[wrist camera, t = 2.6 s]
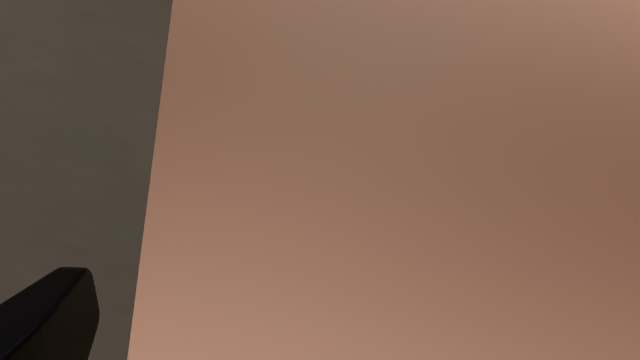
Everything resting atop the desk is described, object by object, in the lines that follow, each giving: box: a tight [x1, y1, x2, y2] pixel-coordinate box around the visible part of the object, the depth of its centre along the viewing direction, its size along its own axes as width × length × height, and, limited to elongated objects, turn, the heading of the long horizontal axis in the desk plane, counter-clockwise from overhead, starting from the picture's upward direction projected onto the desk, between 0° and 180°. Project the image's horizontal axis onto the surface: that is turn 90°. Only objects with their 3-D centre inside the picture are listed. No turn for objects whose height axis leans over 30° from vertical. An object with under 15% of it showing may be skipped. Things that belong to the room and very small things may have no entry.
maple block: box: [128, 0, 640, 360], centre depth 10 cm, size 5×5×13 cm
